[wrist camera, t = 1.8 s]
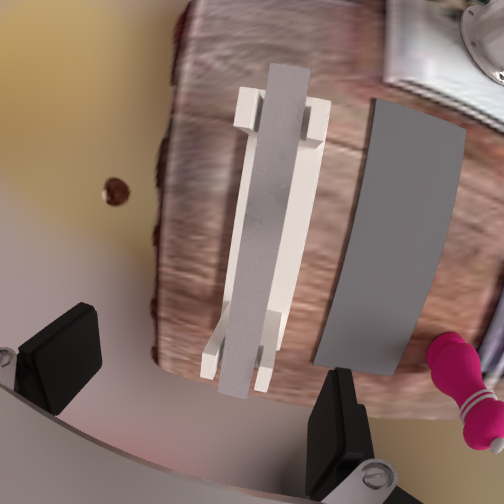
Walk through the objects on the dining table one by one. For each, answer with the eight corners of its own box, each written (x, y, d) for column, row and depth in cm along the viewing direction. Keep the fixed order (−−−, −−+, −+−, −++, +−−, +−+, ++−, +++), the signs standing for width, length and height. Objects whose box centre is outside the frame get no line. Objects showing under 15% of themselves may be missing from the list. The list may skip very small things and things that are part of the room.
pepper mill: (413, 362, 37) (457, 471, 18) (442, 321, 35) (510, 422, 16) (444, 374, 37) (491, 472, 18) (473, 337, 34) (537, 428, 15)
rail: (273, 72, 22) (270, 62, 19) (309, 77, 22) (310, 68, 19) (223, 377, 31) (217, 392, 29) (250, 384, 31) (246, 399, 28)
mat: (375, 98, 29) (376, 97, 28) (464, 130, 28) (466, 129, 27) (312, 362, 39) (312, 364, 38) (391, 373, 38) (392, 375, 37)
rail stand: (258, 92, 31) (235, 55, 19) (330, 104, 30) (345, 72, 18) (220, 331, 40) (191, 392, 28) (280, 344, 39) (269, 411, 27)
